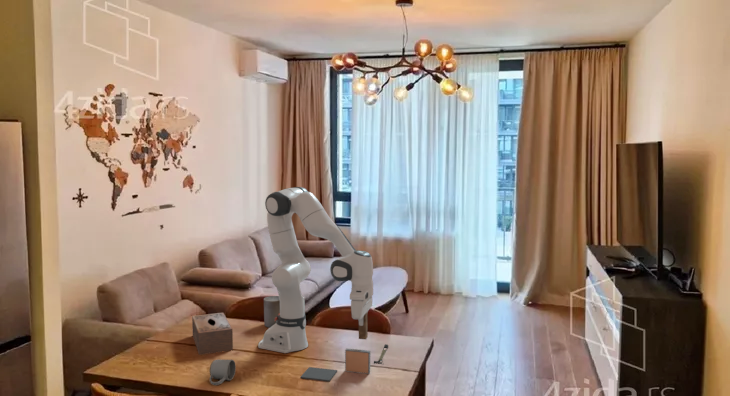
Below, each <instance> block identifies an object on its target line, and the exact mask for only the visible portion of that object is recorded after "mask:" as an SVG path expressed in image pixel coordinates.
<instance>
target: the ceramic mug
mask: <svg viewBox="0 0 730 396" xmlns="http://www.w3.org/2000/svg"><path fill="white" fill-rule="evenodd" d="M236 366H237V365H236V362H235V360H234V359H214V360H213V361H212V362H210V366H209V369H208V371H209V383H210V384H211V385H213V386H219V385H221V384H223V383H224V382H225V381H232V379H234V377H235V375H236V370H237V369H236V368H237V367H236ZM212 379H215V380H219V381H212Z"/></svg>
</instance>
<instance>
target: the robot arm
mask: <svg viewBox="0 0 730 396" xmlns="http://www.w3.org/2000/svg"><path fill="white" fill-rule="evenodd" d="M264 204H265V209H266V212H267V217H266V218H267V219H266V220H267V229H268V232H269V233H268V234H269V237H270V241H271V244H272V245H271V246H272V250H273V252H274V253H275V254H276V255H277V256H278V258H279V260H280V262H281V264H280V265H278V267H276V268H275V269H274V271H273V272H272V274H271V282H272V284H273V285H274V287H276V290H277V293H278V296H279V300H280V313H279V314H278V316H277V317H276V318H275V321H276V323H275V324H274V325H273V326H271V327H270V328H268V329H267V330H266V331H265V332H264V333H263V338H262V339H261V340H260V341H259V342H258V344H257V347H258V349H263V350H268V351H272V352H278V353H283V354H289V353H291V352H297V351H298V352H299V351H301V350H304V349H306V348H307V347H308V346H309V343H308V339H307V338H308V337H307V332H306V325H307V320H306V313H305V312H306V311H305V310H306V309H305V305H306V304H305V297H304V295H302V291H301V283H302V282H304V281H305V280H307V278H308V277H309V275H310V273H311V271H312V268H311V264H310V261H308V260H307V259H306V258H305V255H304V254H303V253H302V250H301V248H300V247H299V243H298V239H297V236H296V232H295V231H296V230H295V227H294V223H293V220H292V219H293V218H292V217H293V215H294V214H296V215H297V216H298V218H299V220H300V222H301V223H302V225H303V227H304V229H305V230H306V232H308V233H309V235H311V236H313V237H318V238H322V239H325V240H328V241H330V242H331V243H332V244H333V246H334V247H335V248H336V250H337V251H338V253H339V254H340V255H341V257H339V258H337V259H335V260H333V261H332V262H331V264H330V269H329V270H330V275H331V276H332V278H333V279H334V280H335V281H337V282H348V281H349V282H351V287H350V289H351V291H350V293H349V300H351V301H350V311H351V313H350V314H351V318H352V319H353V320H358V326H359V325H360V326H363V325H364V321H363V317H364V315H365V314H366V313H367V314H368V312H369V310H370V309H371V307H372V306H373V296H374V280H373V275H374V263H373V258H372V255H371V253H369V252H367V251H366V250H358V249H357V250H356V248H355V247H354V246H353V245H352V243H351V241H350V240H349V239H348V238H347V236H346V235H345V234H344V232H343V231H342V230H341V228H340V227H339V226H338V224H336V223H335V222H334V221H333V220H332V218H331V217H330V216H329V214H328V213H327V211H326V209H325V208H324V206H323V205H322V203H321V202H320V201H319V199H318V198H317V197H316V196H315V194H313V193H312V192H310V191H308V189H307V188H305V187H301V186H295V187H288V188H284V189H282V190H281V189H280V190H278V191H274V192H272V193H270V194H268V195H267V196H266V198H265V201H264Z"/></svg>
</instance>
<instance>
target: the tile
mask: <svg viewBox="0 0 730 396" xmlns="http://www.w3.org/2000/svg"><path fill="white" fill-rule="evenodd" d="M344 351H345V352H344V353H345V355H344V356H345V359H344V361H345V365H344V368H345V369H344V370H345V372H349V373H357V374H358V373H359V374H367V375H369V374H371V350H366V349H357V348H356V349H354V348H345V350H344Z"/></svg>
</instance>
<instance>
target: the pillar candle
mask: <svg viewBox="0 0 730 396" xmlns="http://www.w3.org/2000/svg"><path fill="white" fill-rule="evenodd" d="M279 313H280V300H279V295H269V296H265V297H264V298H263V319H264V320H263V321H264V323H263V324H264V327H267V328H268V329H269V328H270V327H271V326H273V325H274V324H275V323H276V321H275V318H276V317H277V316H278V314H279Z"/></svg>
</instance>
